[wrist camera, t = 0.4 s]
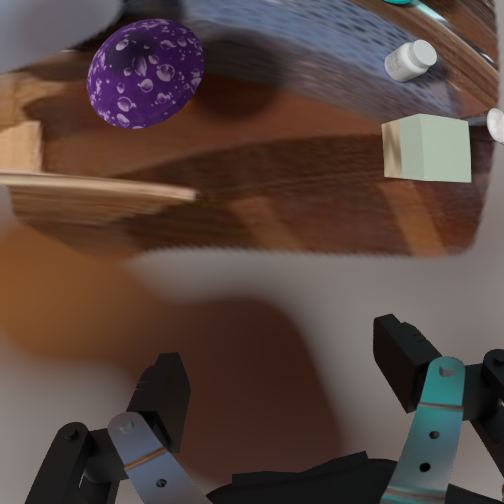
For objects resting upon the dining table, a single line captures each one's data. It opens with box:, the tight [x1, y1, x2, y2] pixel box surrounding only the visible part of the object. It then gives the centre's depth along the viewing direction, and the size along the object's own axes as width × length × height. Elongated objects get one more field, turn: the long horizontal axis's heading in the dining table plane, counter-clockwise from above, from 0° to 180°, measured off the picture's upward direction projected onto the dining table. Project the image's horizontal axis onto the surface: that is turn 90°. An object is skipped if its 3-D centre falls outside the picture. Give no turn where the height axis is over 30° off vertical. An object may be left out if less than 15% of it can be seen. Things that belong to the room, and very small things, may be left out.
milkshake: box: [459, 108, 504, 144], centre depth 30 cm, size 4×5×10 cm
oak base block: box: [382, 119, 402, 178], centre depth 34 cm, size 7×7×5 cm
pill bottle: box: [385, 40, 437, 82], centre depth 29 cm, size 4×4×8 cm
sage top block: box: [399, 114, 471, 182], centre depth 29 cm, size 7×7×5 cm
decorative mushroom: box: [87, 18, 205, 129], centre depth 26 cm, size 12×12×15 cm
